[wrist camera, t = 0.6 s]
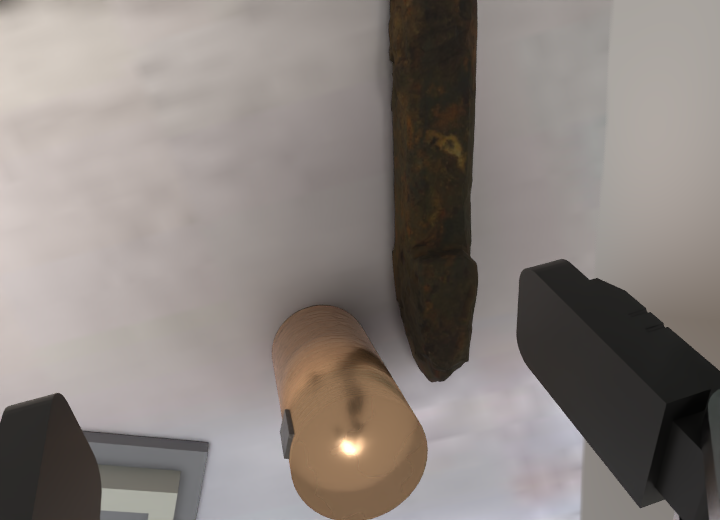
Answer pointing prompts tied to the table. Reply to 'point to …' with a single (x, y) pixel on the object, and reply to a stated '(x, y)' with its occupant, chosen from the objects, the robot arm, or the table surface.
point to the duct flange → (148, 476)
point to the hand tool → (434, 177)
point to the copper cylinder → (343, 418)
